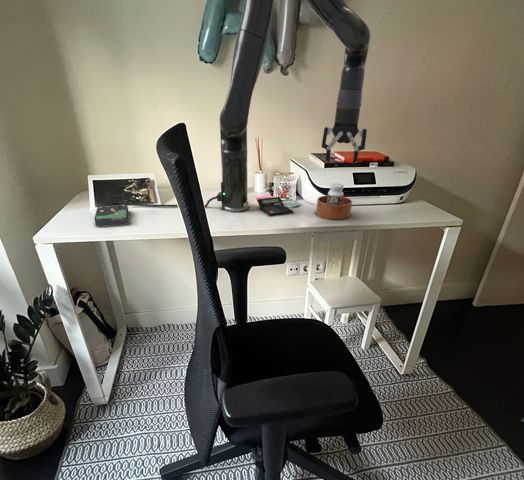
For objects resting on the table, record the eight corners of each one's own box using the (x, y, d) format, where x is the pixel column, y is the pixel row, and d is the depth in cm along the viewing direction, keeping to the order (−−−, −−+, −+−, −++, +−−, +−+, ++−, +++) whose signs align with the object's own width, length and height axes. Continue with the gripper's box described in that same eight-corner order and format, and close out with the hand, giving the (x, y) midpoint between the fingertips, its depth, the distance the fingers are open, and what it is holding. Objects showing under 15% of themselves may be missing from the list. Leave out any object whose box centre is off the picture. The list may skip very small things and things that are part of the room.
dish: (315, 218, 132) (317, 204, 129) (316, 207, 142) (318, 194, 139) (350, 220, 131) (353, 206, 128) (349, 210, 141) (351, 196, 138)
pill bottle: (340, 216, 134) (344, 187, 128) (324, 215, 135) (328, 186, 129) (340, 211, 138) (345, 183, 132) (325, 210, 139) (329, 182, 133)
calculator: (270, 216, 133) (270, 207, 131) (257, 206, 142) (257, 198, 140) (292, 213, 136) (293, 205, 135) (278, 204, 145) (279, 196, 143)
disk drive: (98, 213, 132) (96, 227, 120) (96, 205, 130) (94, 218, 119) (128, 211, 134) (129, 224, 123) (127, 203, 132) (127, 216, 121)
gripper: (370, 106, 118) (360, 161, 128) (326, 104, 120) (320, 159, 130) (372, 108, 112) (362, 166, 122) (325, 106, 114) (319, 164, 124)
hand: (340, 162), depth 126 cm, fingers open, 8 cm apart
